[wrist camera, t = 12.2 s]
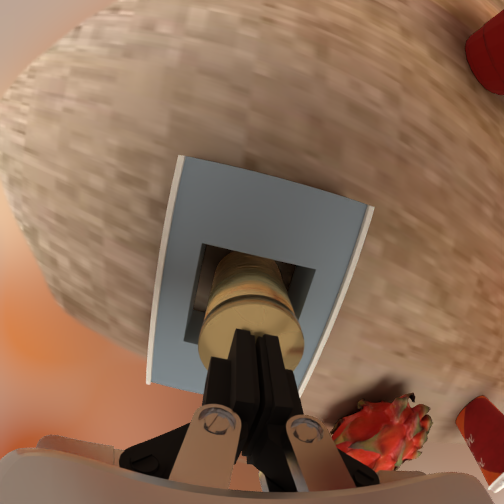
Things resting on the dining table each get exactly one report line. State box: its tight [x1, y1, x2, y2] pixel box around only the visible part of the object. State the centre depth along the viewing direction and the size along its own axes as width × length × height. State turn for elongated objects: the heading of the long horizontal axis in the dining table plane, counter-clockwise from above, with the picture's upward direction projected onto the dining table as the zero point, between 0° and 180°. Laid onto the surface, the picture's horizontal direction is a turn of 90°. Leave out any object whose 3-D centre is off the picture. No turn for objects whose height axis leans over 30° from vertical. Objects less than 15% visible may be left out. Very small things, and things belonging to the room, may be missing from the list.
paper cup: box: [456, 396, 504, 493], centre depth 20 cm, size 8×8×14 cm
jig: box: [146, 155, 375, 397], centre depth 17 cm, size 14×10×4 cm
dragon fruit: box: [330, 393, 433, 472], centre depth 21 cm, size 8×8×12 cm
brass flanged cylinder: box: [198, 251, 304, 371], centre depth 16 cm, size 4×4×8 cm
